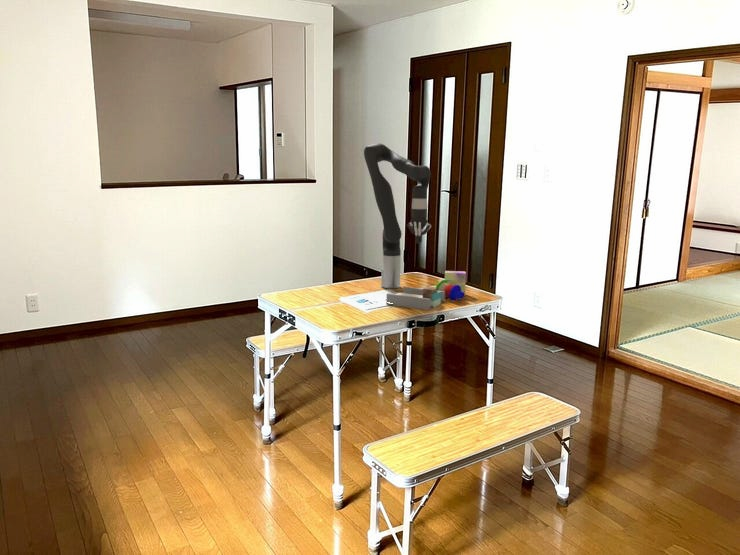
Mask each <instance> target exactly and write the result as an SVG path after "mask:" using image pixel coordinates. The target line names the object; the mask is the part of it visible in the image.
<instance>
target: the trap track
mask: <svg viewBox="0 0 740 555" xmlns="http://www.w3.org/2000/svg"><path fill="white" fill-rule="evenodd" d="M445 300H446V299H445V292H444V291H437V292H436V293H434V294H432V298H431V300H430V299H427V298H423V288H419V287H410V286H403V287H402V292H397V293H390V292H388V293H386V303H387V302H390V303H393V304H395V305H394V306H396V305H399V306H398V307H405V308H411V309H420V310H426V311H430V310H432V309H434V308H436V307H438V306H439V305H441V304H443V303H445V302H446V301H445Z"/></svg>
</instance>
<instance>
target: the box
mask: <svg viewBox="0 0 740 555" xmlns="http://www.w3.org/2000/svg"><path fill="white" fill-rule="evenodd" d="M444 280H446V281H447V283H448V285H459V286H460V287H461V291H462V292H464V293H465V295H464V297H465V296H466V281H467V272H466V271H463V270H462V271H461V270H458V271H457V270H456V271H455V270H445V271H444Z"/></svg>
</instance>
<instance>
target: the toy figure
mask: <svg viewBox="0 0 740 555" xmlns="http://www.w3.org/2000/svg"><path fill="white" fill-rule="evenodd" d="M435 285H436V286H435V288H437V291H444V292H445V300H448V299H449V300H450V301H452V302H455V301H457V300H459V299H461V300H463V299H464V297H465V296H466V292H465V293H464V292H462V291H461V287H460V286H459V285H448V283H447V281H446V280H445V279H442V280H440V281H439V282H438V283H437V284H435ZM464 295H465V296H464Z"/></svg>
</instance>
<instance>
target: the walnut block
mask: <svg viewBox="0 0 740 555" xmlns="http://www.w3.org/2000/svg"><path fill="white" fill-rule="evenodd" d="M422 289H423V298H427V299H430V300H431V298H432V294H434V293H436V292H437V288H436V287H435V286H434V287H432V286H426V287H423V288H422Z"/></svg>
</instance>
